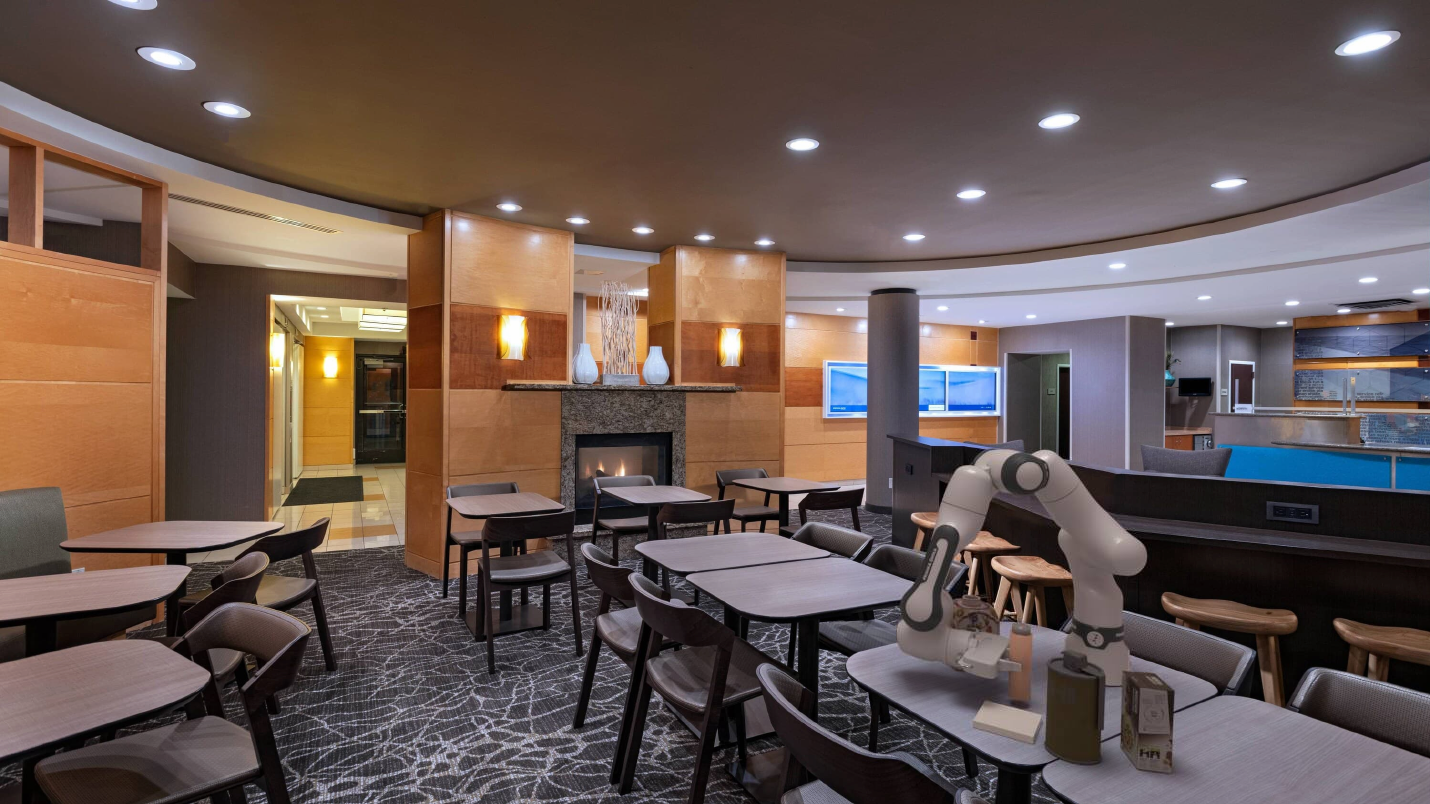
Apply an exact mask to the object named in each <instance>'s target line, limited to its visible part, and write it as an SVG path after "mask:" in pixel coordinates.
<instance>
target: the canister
mask: <svg viewBox="0 0 1430 804" xmlns="http://www.w3.org/2000/svg"><path fill="white" fill-rule="evenodd" d="M1060 654H1061V655H1063V656H1055V657H1051V658H1048V660H1047V661H1046V665H1047V677H1046V678H1047V679H1046V680H1047V684H1046V707H1045V708H1046V711H1045V739H1044V743H1043V745H1044V748H1045V750H1046V751H1048V753H1049V754H1051V756H1055V757H1056V758H1058V759H1060V760H1061V761H1062V760H1063V761H1066V762H1069V763H1071V764H1077V765H1081V766H1082V765H1083V766H1085V765H1095V764H1098V763H1100V762H1101V761H1102V759H1103V755H1102V753H1101V751H1102V750H1101V749H1102V731H1104V730H1105V706H1106V705H1105V704H1106V685H1105V681H1106V676H1105V673H1104V670H1103V669H1102V668H1101V667H1099V666H1097V665H1096V664H1093V663H1090V662H1088V660H1087V655H1085V654H1082V653H1077V652H1075V651H1072V650H1065V651H1064V650H1063V651H1061V652H1060Z"/></svg>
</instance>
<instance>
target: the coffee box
mask: <svg viewBox="0 0 1430 804" xmlns="http://www.w3.org/2000/svg"><path fill="white" fill-rule="evenodd" d="M1175 694H1176V691H1175V690H1174V689H1173V688H1172V687H1171V686H1170V685H1169V684H1167V683H1166V682H1165V681H1164V680H1163V679H1162V678H1160V676H1159V675H1157V674H1156V673H1153V672H1146V671H1145V672H1144V671H1134V672H1129V671H1122V685H1121V701H1120V702H1121V703H1120V704H1121V705H1120V707H1121V708H1120V714H1121V715H1120V744H1119V745H1120V749H1121V750H1122V752H1124V754H1125V755H1126V756H1127V758H1128V759H1129V760H1130V762H1131V763H1132V765H1134V767H1135V768H1136V769H1137V770H1143V771H1149V772H1150V771H1151V772H1158V773H1164V774H1165V773H1166V774H1172V769H1173V768H1172V766H1173V765H1172V764H1173V742H1174V741H1173V740H1174V738H1173V737H1174V720H1175V719H1174V718H1175V717H1174V716H1175V715H1174V714H1175Z"/></svg>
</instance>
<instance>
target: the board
mask: <svg viewBox="0 0 1430 804" xmlns="http://www.w3.org/2000/svg"><path fill="white" fill-rule="evenodd" d="M1042 723H1043V714H1039V713H1035V712H1033V711H1029V710H1023V709H1020V708H1016V707H1012V706H1008V705H1004V704H1001V703H998V702H993V701H990V700H984V702H983V704H982V705H981V707H980V709H979V710H978V712H977V713H976V714H975V717H974V718H973V720H972V728H974V729H977V730H981V731H985V732H988V733H992V734H995V735H999V736H1003V737H1006V738H1009V739H1014V740H1017V741H1020V742H1023V743H1027V744H1031V745H1034V742H1035V740H1036V738H1037V736H1038V733H1039V731H1040V727H1041V726H1042Z"/></svg>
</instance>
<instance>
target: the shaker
mask: <svg viewBox="0 0 1430 804" xmlns="http://www.w3.org/2000/svg"><path fill="white" fill-rule="evenodd" d="M1031 629H1032V627H1031V625H1029V624H1026V623H1021V622H1013V623H1012V624H1011V629H1010V631H1009V640H1010V649H1009V659H1008V661H1011V662H1014V661H1017V662H1021V663H1022V664H1023V666H1022V667H1023V668H1022V671H1021V672H1018V671H1008V687H1007V688H1008V690H1007V691H1008V693H1007V695H1008V697H1010V698H1011V699H1014V700H1016V701H1020V702H1028V701H1030V700H1032V699H1031V698H1032V697H1031V695H1032V670H1033V668H1032V664H1033V663H1032V662H1033V633H1032V631H1031Z"/></svg>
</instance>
